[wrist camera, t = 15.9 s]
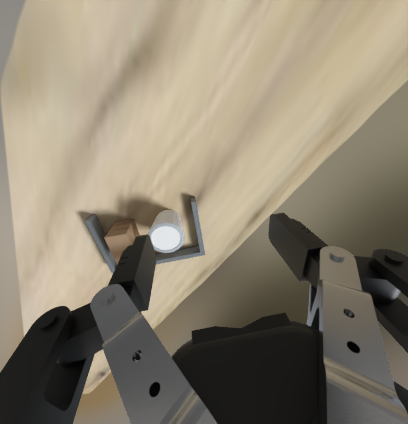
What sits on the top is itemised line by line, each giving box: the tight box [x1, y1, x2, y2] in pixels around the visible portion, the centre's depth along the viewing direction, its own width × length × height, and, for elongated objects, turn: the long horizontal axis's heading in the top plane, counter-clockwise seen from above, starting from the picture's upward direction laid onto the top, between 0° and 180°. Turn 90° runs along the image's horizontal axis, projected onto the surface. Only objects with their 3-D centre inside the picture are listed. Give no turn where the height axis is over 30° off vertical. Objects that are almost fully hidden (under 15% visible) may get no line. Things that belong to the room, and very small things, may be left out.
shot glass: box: [148, 210, 184, 253], centre depth 35 cm, size 7×7×7 cm
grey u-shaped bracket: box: [85, 197, 205, 273], centre depth 38 cm, size 14×22×2 cm, turn 98°
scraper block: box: [104, 219, 140, 265], centre depth 36 cm, size 8×4×6 cm, turn 8°
